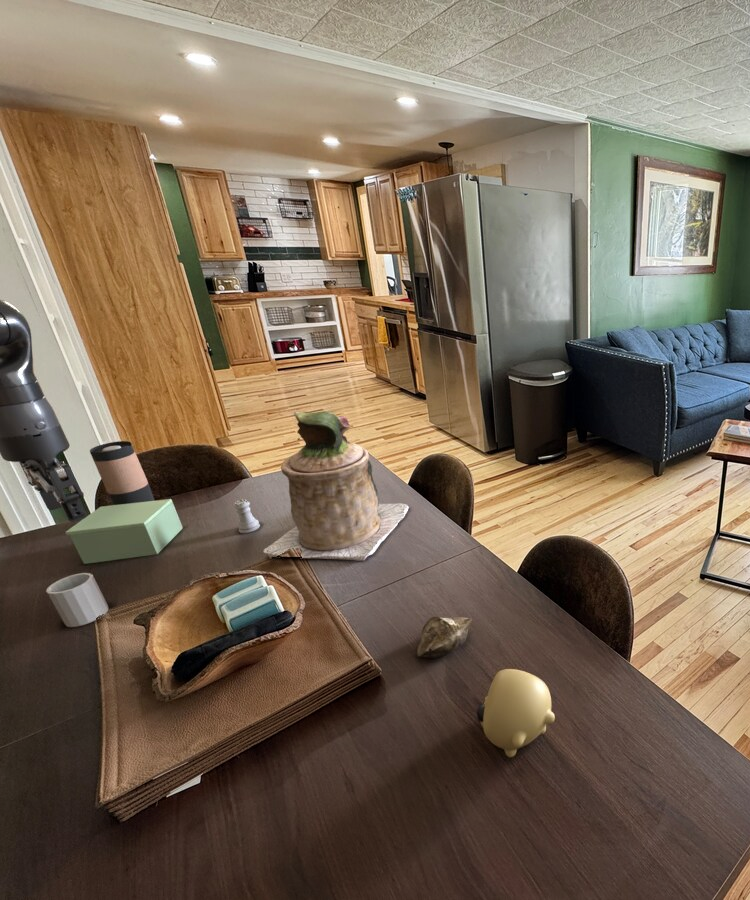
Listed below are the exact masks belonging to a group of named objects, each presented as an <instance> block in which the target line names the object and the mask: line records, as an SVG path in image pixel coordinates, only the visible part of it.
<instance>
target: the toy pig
mask: <svg viewBox="0 0 750 900" xmlns="http://www.w3.org/2000/svg"><path fill="white" fill-rule="evenodd" d="M476 716H477V719H478V721H479V722H480V725H481V727H482V728H483V733H484V736H485V738H487V739H488V741H489V742H490V743H492V744H493V745H494V746H496V747H498V748H500V749H503V750H504V753H505V755H506V756H507V757H508V758H513V757H515V756H516V754H517V750H518V749H522V748H523V747H525V746H527V745H529V744H530V743H532V742H533V741H534V740H536V739H537V738H538V737H539V736H540V735H544V734H545V733H546V731H547V725H550V724H552V723H554V721H555V719H556V716H555V713H554V712H553V711H552V697H551V692H550V689H549V687H548V686H547V684H546V683H545V681H543V680H542V679H540V677H538V676H536V675H534V674H532V673H529V672H527V671H524V670H520V669H516V668H506V669H505V668H504V669H501V670H499V671H498V672H497V673H496V674H495V676H494V678H493V680H492V681H491V684H490V687H489V690H488V692H487V696H485V697H484V702H483V703H481V704H480V706H479V707H478V708H477V711H476Z"/></svg>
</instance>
